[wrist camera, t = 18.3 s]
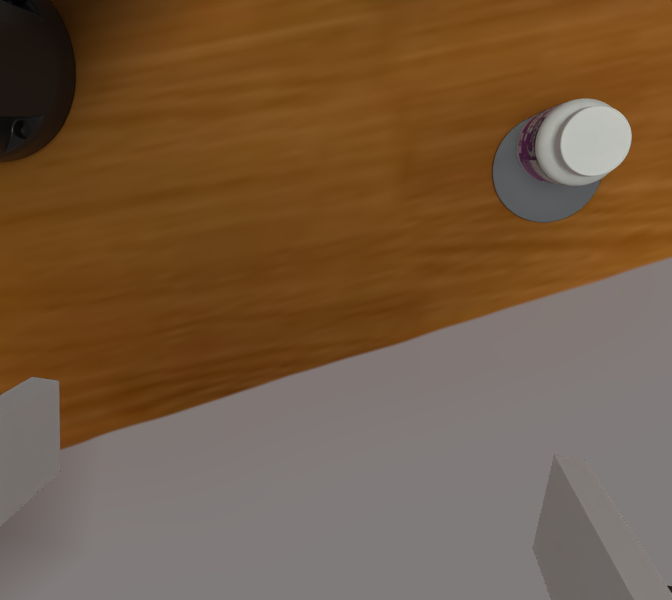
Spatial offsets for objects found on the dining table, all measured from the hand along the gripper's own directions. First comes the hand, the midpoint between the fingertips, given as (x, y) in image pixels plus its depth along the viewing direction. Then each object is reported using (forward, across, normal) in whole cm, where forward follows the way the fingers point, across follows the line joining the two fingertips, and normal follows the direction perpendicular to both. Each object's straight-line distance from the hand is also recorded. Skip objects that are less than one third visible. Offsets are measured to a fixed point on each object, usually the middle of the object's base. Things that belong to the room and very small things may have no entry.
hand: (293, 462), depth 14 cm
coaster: (+32, +13, +9) cm, 35 cm away
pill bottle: (+31, +13, +10) cm, 36 cm away
